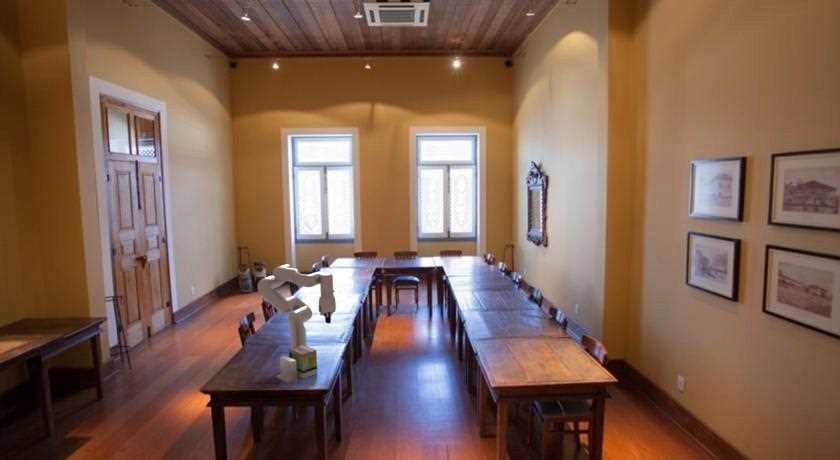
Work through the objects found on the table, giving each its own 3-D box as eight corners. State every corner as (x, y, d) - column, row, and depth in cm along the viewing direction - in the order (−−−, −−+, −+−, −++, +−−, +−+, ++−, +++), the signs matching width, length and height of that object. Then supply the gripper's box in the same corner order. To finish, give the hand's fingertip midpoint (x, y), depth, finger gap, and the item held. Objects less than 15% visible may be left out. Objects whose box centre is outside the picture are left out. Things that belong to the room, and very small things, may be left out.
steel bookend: (276, 378, 264) (275, 358, 262) (285, 375, 268) (284, 355, 267) (287, 384, 256) (286, 363, 255) (297, 380, 260) (296, 360, 259)
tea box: (318, 374, 269) (316, 349, 267) (303, 379, 262) (301, 354, 260) (304, 367, 279) (302, 343, 277) (289, 372, 272) (287, 348, 270)
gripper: (333, 290, 288) (334, 318, 290) (313, 295, 277) (314, 324, 280) (340, 292, 283) (341, 321, 285) (320, 297, 272) (321, 327, 275)
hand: (328, 322), depth 282 cm, fingers closed
